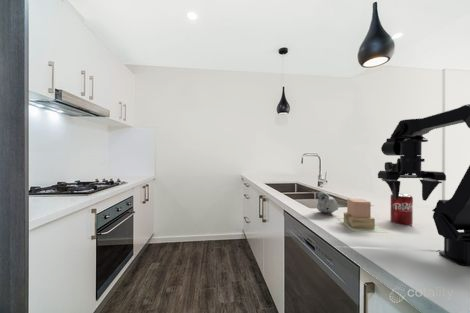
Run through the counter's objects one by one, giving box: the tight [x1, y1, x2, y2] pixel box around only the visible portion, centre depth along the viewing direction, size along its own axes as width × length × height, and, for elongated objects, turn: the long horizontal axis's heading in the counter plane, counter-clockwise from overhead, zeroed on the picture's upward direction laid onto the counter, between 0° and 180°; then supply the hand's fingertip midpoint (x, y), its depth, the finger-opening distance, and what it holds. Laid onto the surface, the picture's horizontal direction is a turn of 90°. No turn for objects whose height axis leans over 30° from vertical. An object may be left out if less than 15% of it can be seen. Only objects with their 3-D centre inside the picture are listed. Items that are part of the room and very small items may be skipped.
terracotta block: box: [346, 198, 372, 218], centre depth 83 cm, size 6×6×6 cm
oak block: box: [343, 211, 376, 229], centre depth 83 cm, size 8×8×4 cm
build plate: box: [336, 217, 388, 233], centre depth 84 cm, size 16×12×1 cm
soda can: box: [389, 193, 414, 227], centre depth 87 cm, size 7×7×12 cm
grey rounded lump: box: [316, 190, 339, 215], centre depth 98 cm, size 10×10×12 cm
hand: (410, 200), depth 72 cm, fingers open, 9 cm apart
